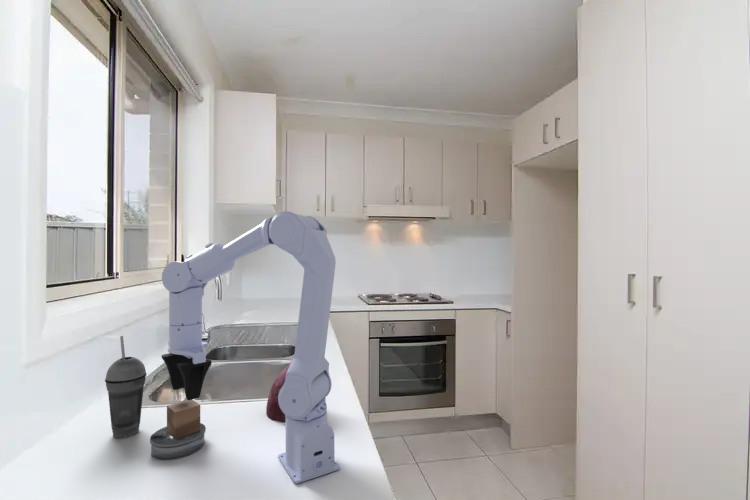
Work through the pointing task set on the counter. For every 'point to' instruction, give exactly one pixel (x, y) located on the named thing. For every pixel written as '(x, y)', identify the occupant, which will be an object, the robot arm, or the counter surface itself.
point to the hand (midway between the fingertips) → (185, 393)
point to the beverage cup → (125, 394)
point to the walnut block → (183, 418)
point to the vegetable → (276, 398)
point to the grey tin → (175, 444)
